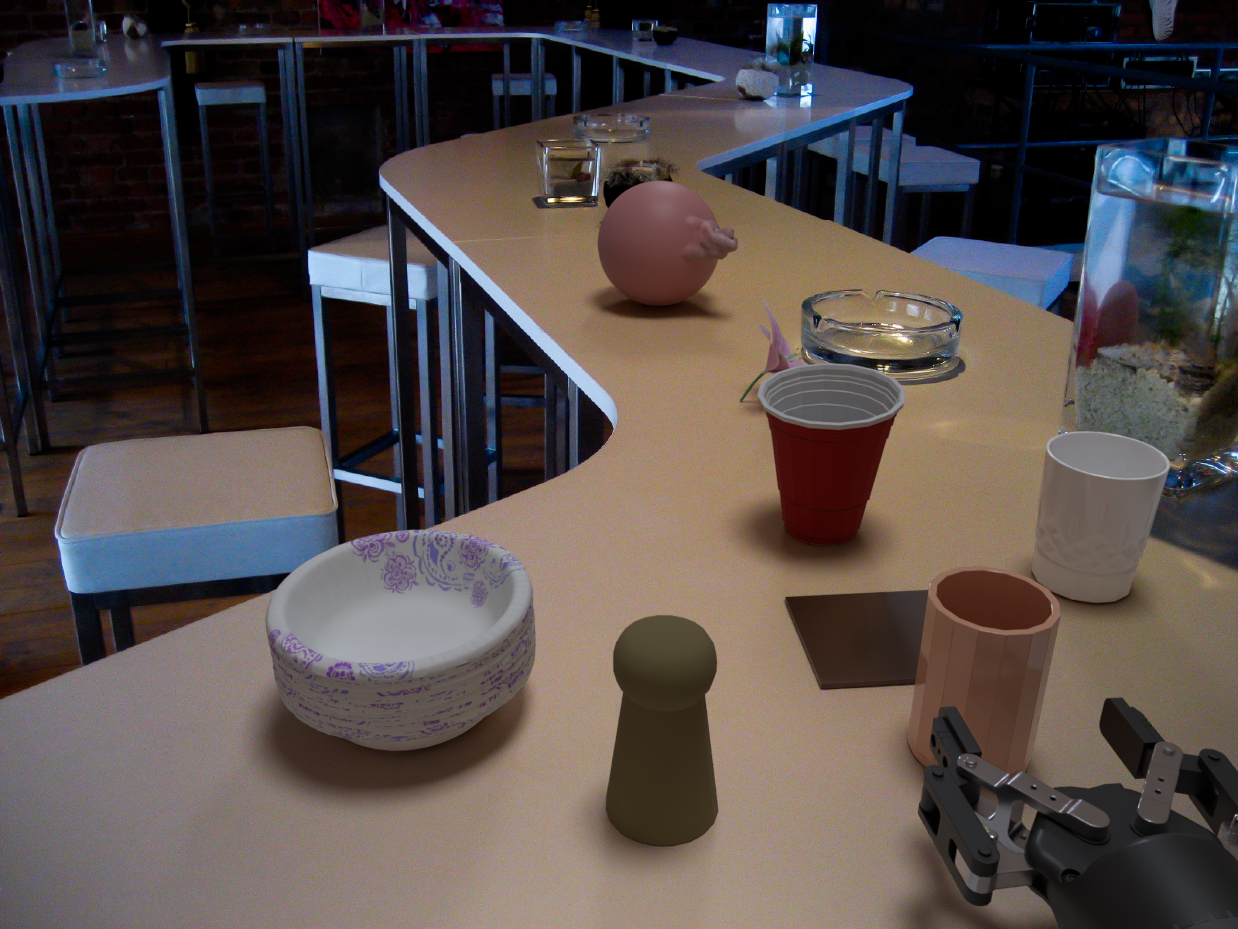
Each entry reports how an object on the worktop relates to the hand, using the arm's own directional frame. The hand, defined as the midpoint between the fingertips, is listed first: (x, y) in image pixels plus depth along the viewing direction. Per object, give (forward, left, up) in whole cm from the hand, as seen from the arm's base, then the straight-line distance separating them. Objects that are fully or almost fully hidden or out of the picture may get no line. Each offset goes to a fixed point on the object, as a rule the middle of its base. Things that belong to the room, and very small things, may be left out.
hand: (1026, 715), depth 55 cm
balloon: (+6, -90, -7) cm, 91 cm away
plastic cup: (+2, -31, -7) cm, 32 cm away
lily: (-1, -57, -7) cm, 58 cm away
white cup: (-15, -22, -7) cm, 28 cm away
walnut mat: (0, -16, -7) cm, 18 cm away
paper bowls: (+32, -12, -7) cm, 35 cm away
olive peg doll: (+18, -2, -7) cm, 19 cm away
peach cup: (0, -5, -7) cm, 8 cm away
